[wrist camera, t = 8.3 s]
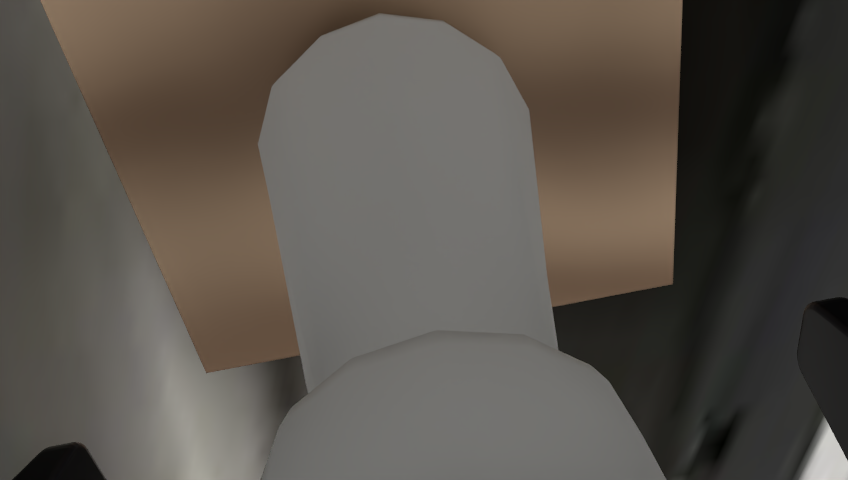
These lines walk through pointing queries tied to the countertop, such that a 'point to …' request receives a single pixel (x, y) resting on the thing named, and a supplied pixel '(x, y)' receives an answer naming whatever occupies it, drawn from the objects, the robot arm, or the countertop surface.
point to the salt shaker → (424, 272)
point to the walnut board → (281, 47)
